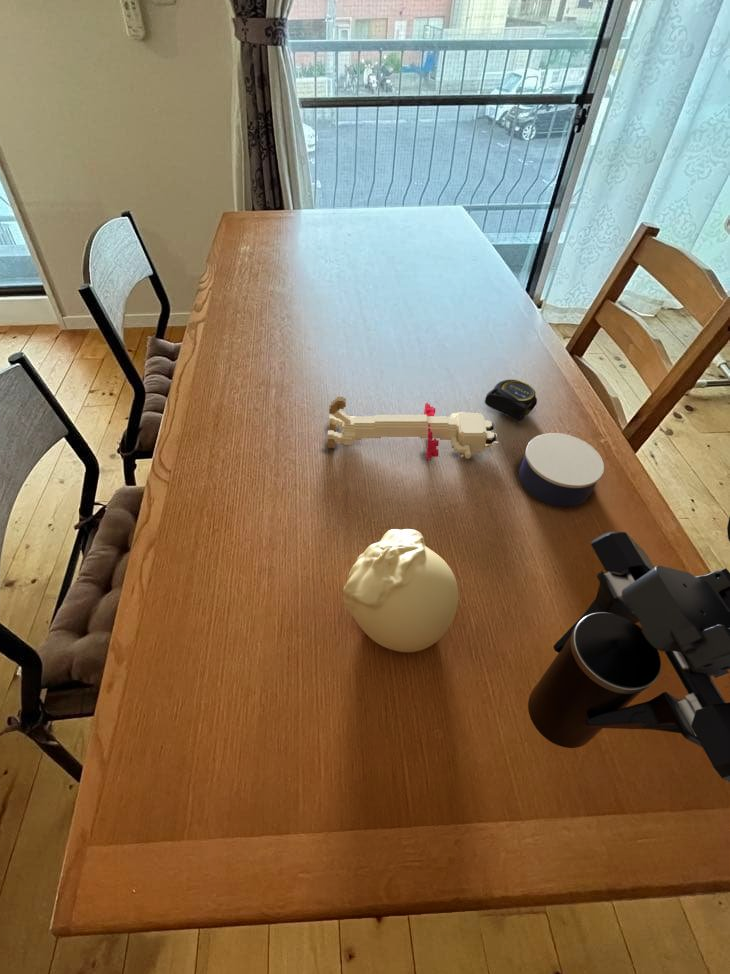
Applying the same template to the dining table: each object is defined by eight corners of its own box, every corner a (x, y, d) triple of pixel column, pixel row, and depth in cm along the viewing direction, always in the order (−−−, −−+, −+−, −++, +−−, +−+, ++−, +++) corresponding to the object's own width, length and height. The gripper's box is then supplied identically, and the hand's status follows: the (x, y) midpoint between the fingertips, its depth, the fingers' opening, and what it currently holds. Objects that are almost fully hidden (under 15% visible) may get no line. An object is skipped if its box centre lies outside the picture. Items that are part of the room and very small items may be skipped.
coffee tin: (598, 470, 81) (610, 448, 77) (584, 518, 74) (596, 496, 71) (527, 446, 84) (536, 424, 81) (509, 490, 78) (517, 467, 74)
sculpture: (378, 557, 69) (386, 501, 62) (465, 606, 65) (486, 552, 57) (325, 625, 63) (327, 571, 55) (419, 685, 58) (435, 636, 50)
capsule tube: (602, 700, 52) (666, 633, 42) (589, 763, 48) (656, 705, 39) (536, 669, 54) (583, 598, 44) (518, 727, 50) (566, 663, 41)
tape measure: (480, 408, 90) (485, 390, 87) (503, 390, 94) (509, 372, 91) (516, 428, 87) (523, 410, 84) (539, 409, 90) (546, 390, 88)
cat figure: (327, 466, 82) (500, 467, 80) (323, 421, 76) (511, 421, 73) (332, 422, 89) (491, 422, 86) (328, 378, 83) (500, 376, 80)
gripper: (663, 459, 41) (484, 559, 48) (859, 717, 28) (577, 802, 35) (707, 518, 47) (544, 598, 54) (884, 750, 34) (641, 816, 41)
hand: (571, 685), depth 46 cm, fingers closed on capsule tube, 6 cm apart
